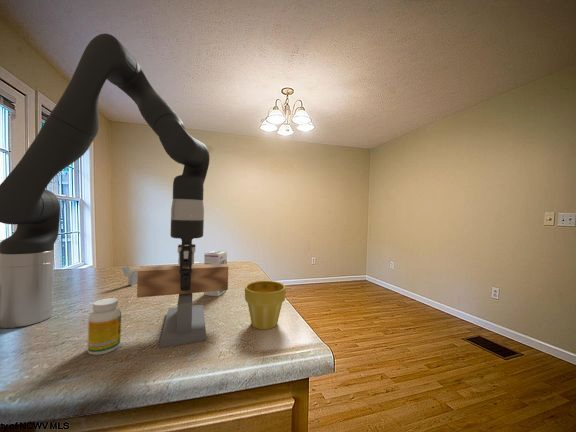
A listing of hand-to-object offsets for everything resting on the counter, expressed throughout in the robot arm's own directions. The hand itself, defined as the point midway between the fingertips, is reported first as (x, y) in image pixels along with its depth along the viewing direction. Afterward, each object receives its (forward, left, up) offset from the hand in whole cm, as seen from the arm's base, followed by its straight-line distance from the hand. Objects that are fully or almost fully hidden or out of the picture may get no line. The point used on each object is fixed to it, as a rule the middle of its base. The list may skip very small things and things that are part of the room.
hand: (185, 287), depth 60 cm
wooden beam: (0, 0, -1) cm, 1 cm away
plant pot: (+19, -5, -10) cm, 22 cm away
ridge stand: (0, 0, -10) cm, 10 cm away
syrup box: (+9, +23, -10) cm, 27 cm away
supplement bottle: (-15, -6, -10) cm, 19 cm away
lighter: (-20, +41, -10) cm, 47 cm away
